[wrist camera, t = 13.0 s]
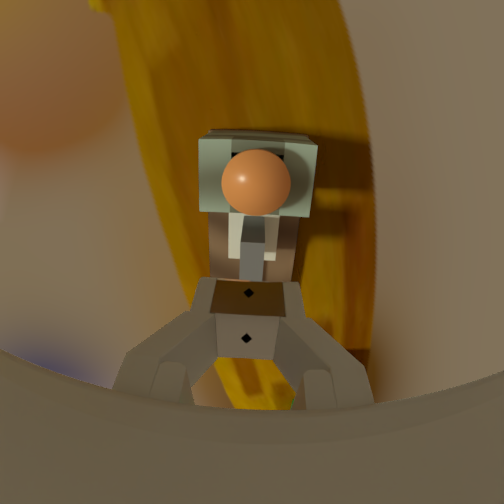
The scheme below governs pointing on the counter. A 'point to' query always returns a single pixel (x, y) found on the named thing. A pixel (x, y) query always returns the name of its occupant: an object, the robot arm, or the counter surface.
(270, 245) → the carriage
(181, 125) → the counter surface
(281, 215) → the rail bed
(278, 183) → the button
